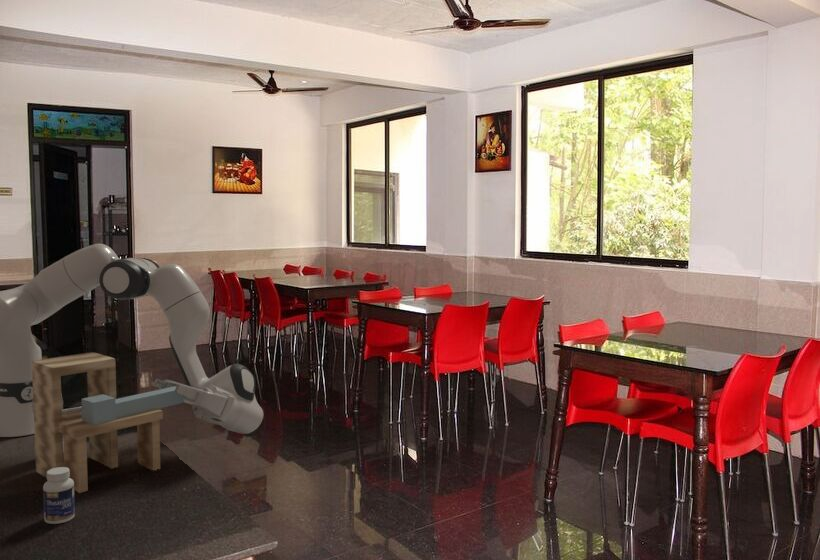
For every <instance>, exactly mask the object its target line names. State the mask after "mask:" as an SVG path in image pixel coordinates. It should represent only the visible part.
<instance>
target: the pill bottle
mask: <svg viewBox="0 0 820 560" xmlns="http://www.w3.org/2000/svg"><path fill="white" fill-rule="evenodd" d="M69 476H70V470H69V468H67V467H58V468H53V469H50V470H48V471H47V478H46V480H47V481H46V482H44V484H43V486H42V492H43V519H44V522H45V523H47V524H49V525H50V524H51V525H58V524H63V523H67V522H70V521H71V520H72V519H74V518H75V515H76V513H75V512H76V511H75V510H76V509H75V508H76V507H75V502H76V501H75V490H74V481H73V480H72V479H71V478H69Z"/></svg>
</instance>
